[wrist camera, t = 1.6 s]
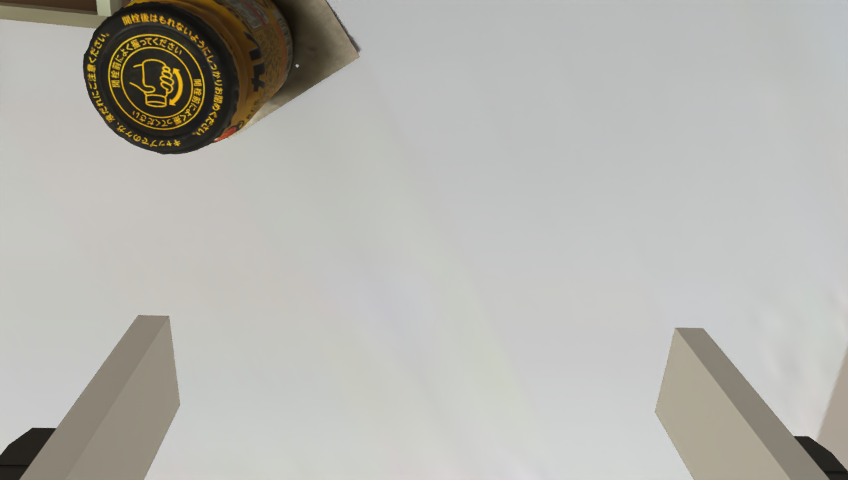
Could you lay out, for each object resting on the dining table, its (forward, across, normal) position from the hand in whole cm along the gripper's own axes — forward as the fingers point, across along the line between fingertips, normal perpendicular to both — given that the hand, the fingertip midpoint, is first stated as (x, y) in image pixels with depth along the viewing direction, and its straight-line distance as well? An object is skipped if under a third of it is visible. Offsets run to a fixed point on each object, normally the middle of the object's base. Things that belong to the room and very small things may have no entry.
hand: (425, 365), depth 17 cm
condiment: (+21, -8, +6) cm, 23 cm away
